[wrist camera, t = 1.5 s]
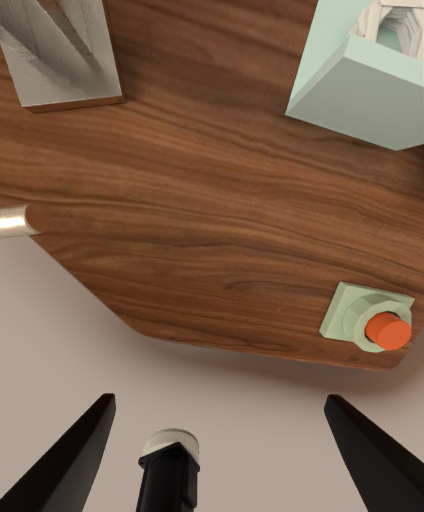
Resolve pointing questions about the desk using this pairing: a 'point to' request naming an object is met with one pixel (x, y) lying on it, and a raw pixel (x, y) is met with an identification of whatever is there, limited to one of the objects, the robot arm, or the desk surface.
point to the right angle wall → (364, 71)
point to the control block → (361, 313)
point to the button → (388, 331)
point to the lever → (22, 220)
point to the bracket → (61, 53)
